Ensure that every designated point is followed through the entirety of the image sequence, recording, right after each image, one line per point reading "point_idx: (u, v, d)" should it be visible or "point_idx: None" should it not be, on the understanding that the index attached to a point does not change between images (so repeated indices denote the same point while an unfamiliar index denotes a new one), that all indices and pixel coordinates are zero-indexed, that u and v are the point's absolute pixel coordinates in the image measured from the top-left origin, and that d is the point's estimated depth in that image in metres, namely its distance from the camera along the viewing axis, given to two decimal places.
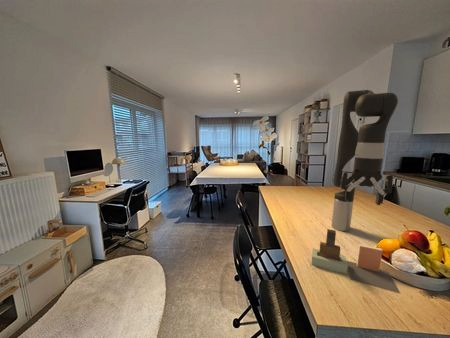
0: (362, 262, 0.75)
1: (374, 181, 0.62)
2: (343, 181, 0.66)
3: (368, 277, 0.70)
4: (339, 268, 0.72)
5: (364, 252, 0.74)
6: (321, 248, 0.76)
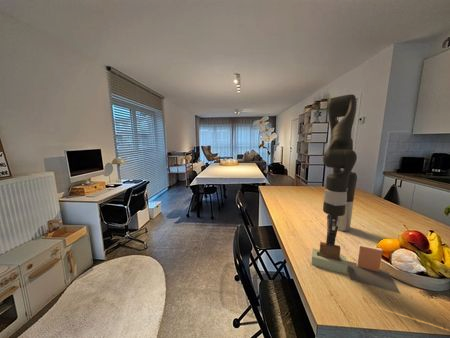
0: (362, 262, 0.75)
1: None
2: (336, 232, 0.70)
3: (368, 277, 0.70)
4: (339, 268, 0.72)
5: (364, 252, 0.74)
6: (321, 248, 0.76)
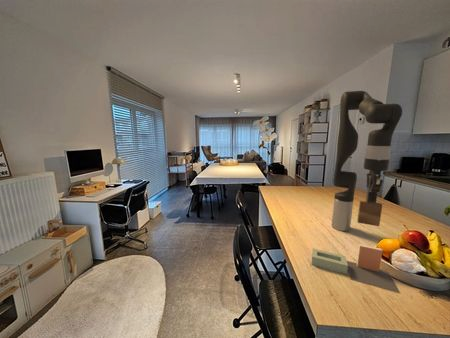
0: (362, 262, 0.75)
1: None
2: None
3: (368, 277, 0.70)
4: (339, 268, 0.72)
5: (364, 252, 0.74)
6: (361, 206, 0.77)
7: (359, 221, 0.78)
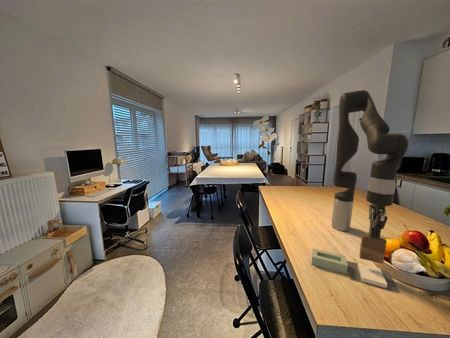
0: None
1: None
2: None
3: None
4: (339, 268, 0.72)
5: None
6: (364, 241, 0.71)
7: (361, 257, 0.72)
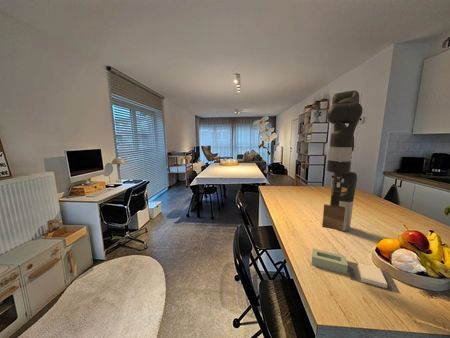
0: None
1: None
2: None
3: None
4: (339, 268, 0.72)
5: None
6: (325, 210, 0.74)
7: (323, 225, 0.75)
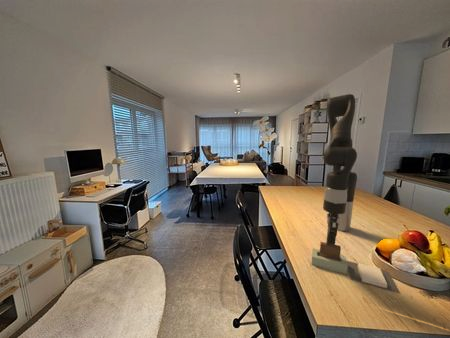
0: None
1: None
2: None
3: None
4: (339, 268, 0.72)
5: None
6: (321, 248, 0.77)
7: None
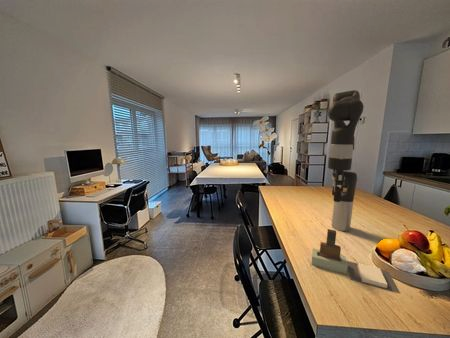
0: None
1: None
2: None
3: None
4: (339, 268, 0.72)
5: None
6: (321, 248, 0.76)
7: None
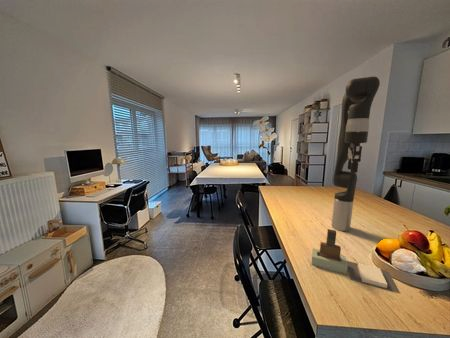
0: None
1: None
2: None
3: None
4: (339, 268, 0.72)
5: None
6: (321, 248, 0.76)
7: None
